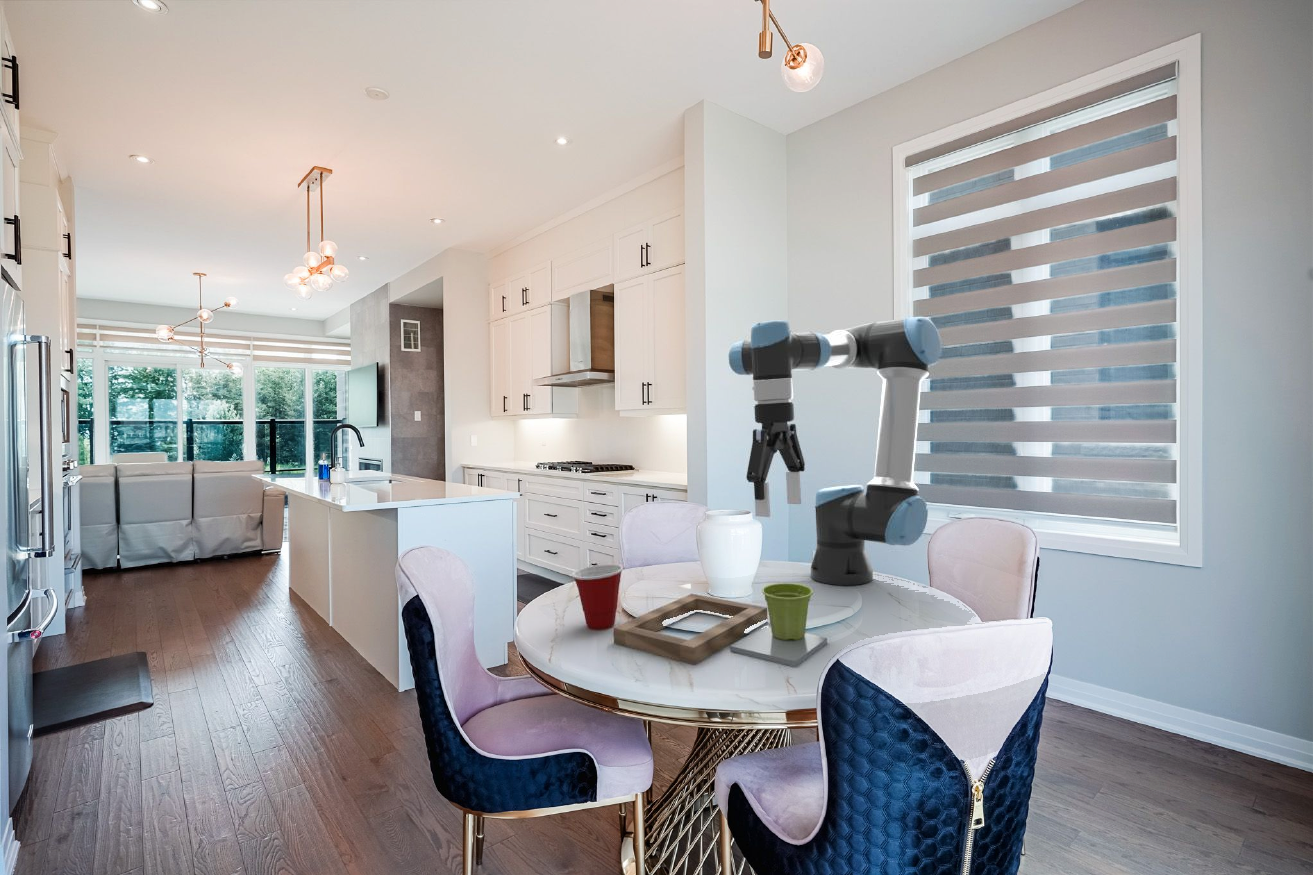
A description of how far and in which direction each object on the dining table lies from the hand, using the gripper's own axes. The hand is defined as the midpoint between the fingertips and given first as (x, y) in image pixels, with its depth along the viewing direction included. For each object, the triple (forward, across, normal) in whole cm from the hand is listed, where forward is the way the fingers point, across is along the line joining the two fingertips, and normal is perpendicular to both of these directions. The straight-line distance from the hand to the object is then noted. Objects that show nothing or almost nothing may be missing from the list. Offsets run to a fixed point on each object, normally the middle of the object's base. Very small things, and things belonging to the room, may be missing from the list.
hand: (779, 509), depth 127 cm
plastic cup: (+23, +18, -34) cm, 45 cm away
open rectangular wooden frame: (+23, +11, -15) cm, 30 cm away
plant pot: (+23, +6, +3) cm, 24 cm away
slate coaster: (+24, +10, +3) cm, 26 cm away
